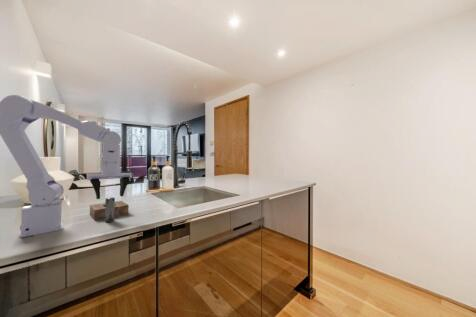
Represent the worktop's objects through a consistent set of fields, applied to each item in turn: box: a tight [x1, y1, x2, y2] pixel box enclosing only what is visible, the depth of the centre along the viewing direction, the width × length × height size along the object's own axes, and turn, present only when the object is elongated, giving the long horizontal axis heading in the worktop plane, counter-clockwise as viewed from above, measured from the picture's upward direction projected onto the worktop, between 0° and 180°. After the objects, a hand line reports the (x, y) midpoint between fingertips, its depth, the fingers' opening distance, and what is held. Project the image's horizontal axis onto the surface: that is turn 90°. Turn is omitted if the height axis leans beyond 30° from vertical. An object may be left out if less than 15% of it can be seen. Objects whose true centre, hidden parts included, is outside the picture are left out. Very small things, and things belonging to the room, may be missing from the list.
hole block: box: [89, 200, 129, 221], centre depth 80 cm, size 12×10×4 cm
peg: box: [104, 197, 116, 224], centre depth 72 cm, size 3×3×9 cm
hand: (110, 197), depth 72 cm, fingers open, 7 cm apart
